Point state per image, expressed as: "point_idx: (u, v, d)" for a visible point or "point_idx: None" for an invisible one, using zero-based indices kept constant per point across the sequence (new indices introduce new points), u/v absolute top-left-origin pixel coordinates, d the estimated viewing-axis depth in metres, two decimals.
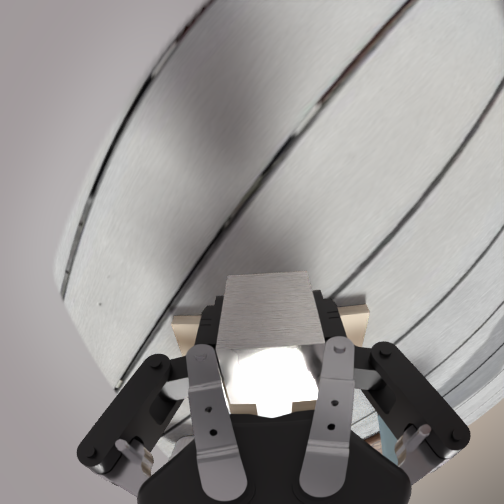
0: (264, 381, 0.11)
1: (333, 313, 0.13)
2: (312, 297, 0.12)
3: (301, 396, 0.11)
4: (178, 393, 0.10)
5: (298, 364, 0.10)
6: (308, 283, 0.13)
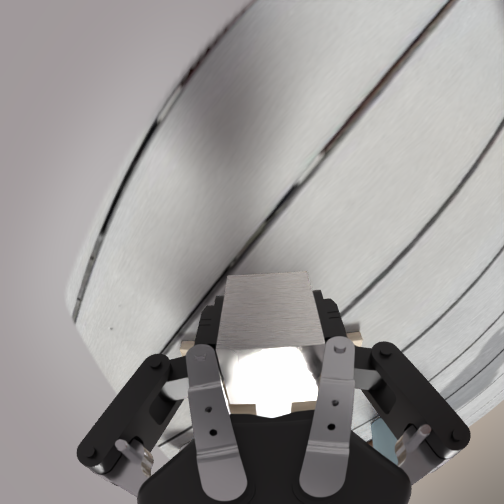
0: (263, 382, 0.11)
1: (333, 313, 0.13)
2: (312, 298, 0.12)
3: (301, 396, 0.11)
4: (177, 393, 0.10)
5: (298, 364, 0.10)
6: (308, 284, 0.13)
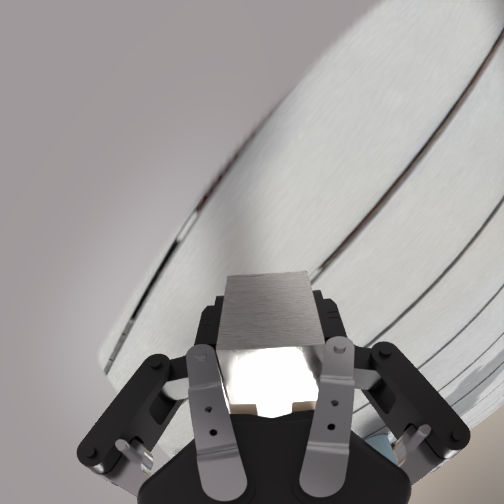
0: (264, 382, 0.11)
1: (333, 313, 0.13)
2: (312, 298, 0.12)
3: (301, 396, 0.11)
4: (178, 392, 0.10)
5: (298, 364, 0.10)
6: (308, 283, 0.13)
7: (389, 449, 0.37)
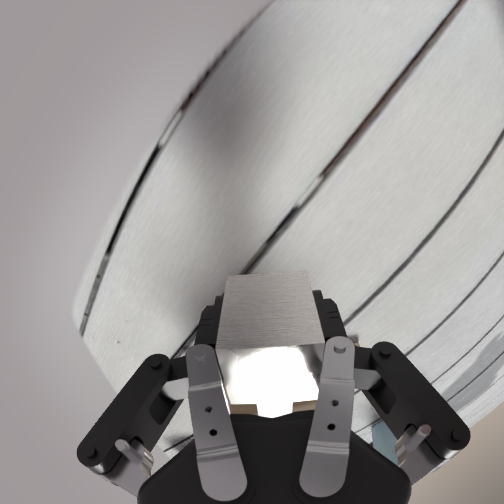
0: (264, 381, 0.11)
1: (333, 313, 0.13)
2: (312, 297, 0.12)
3: (301, 396, 0.11)
4: (177, 393, 0.10)
5: (298, 364, 0.10)
6: (308, 283, 0.13)
7: None
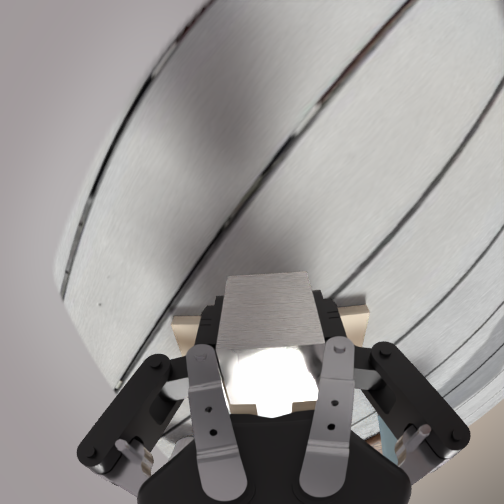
0: (264, 382, 0.11)
1: (333, 313, 0.13)
2: (312, 297, 0.12)
3: (301, 396, 0.11)
4: (177, 393, 0.10)
5: (298, 364, 0.10)
6: (308, 283, 0.13)
7: None
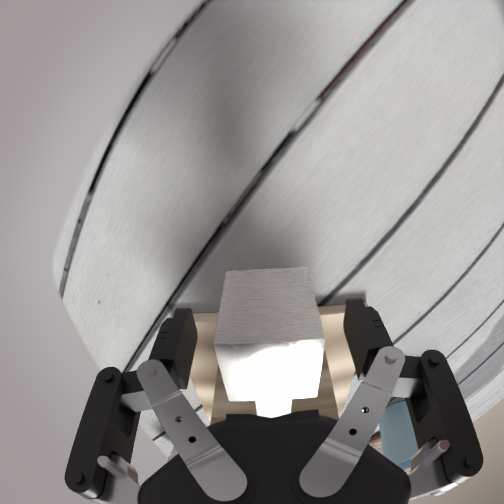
0: (263, 378, 0.11)
1: (376, 322, 0.12)
2: (312, 292, 0.12)
3: (301, 393, 0.11)
4: (131, 405, 0.10)
5: (297, 360, 0.10)
6: (308, 278, 0.13)
7: None
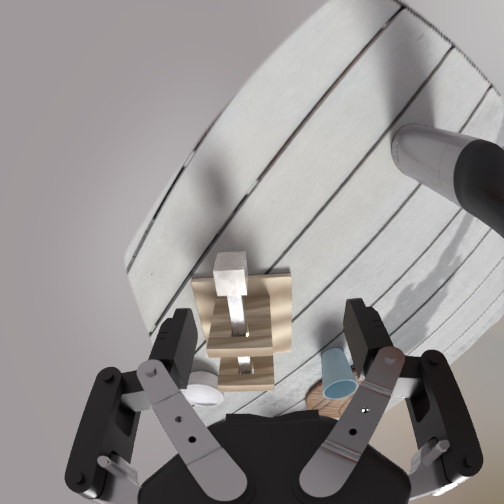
0: (227, 284, 0.37)
1: (376, 322, 0.12)
2: (244, 258, 0.38)
3: (241, 292, 0.38)
4: (131, 406, 0.10)
5: (237, 277, 0.36)
6: (244, 254, 0.39)
7: (344, 359, 0.57)
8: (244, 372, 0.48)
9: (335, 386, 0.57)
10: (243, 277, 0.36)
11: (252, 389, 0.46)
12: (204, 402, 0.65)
